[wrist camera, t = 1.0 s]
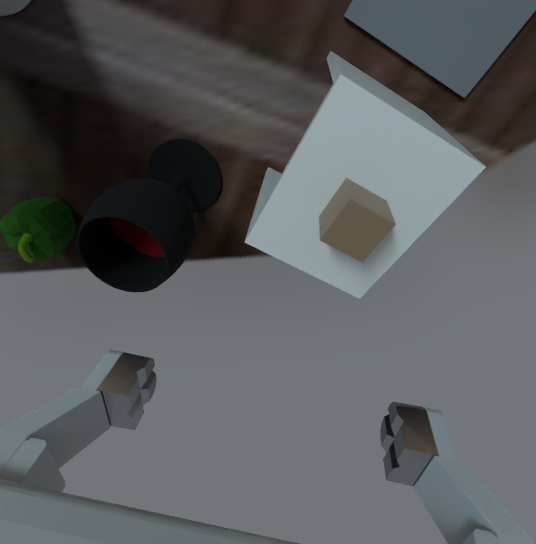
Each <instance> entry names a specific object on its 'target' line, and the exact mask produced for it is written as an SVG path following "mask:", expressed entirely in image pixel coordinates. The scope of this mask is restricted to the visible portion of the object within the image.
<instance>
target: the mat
mask: <svg viewBox="0 0 536 544" xmlns="http://www.w3.org/2000/svg"><path fill="white" fill-rule="evenodd" d="M535 11H536V0H352V2H351V4H350V5H349V7H348V9H347V11H346V13H345V15H344V16H345V17H346V18H347V19H349V20H350V21H352V22H353V23H355V24H356V25H358V26H359V27H361V28H362V29H364V30H365V31H367V32H368V33H369V34H371V35H372V36H374V37H375V38H377V39H378V40H380V41H381V42H383V43H384V44H386V45H387V46H389V47H390V48H391V49H393V50H394V51H396V52H397V53H399V54H400V55H402V56H403V57H405V58H406V59H408V60H409V61H411V62H412V63H413V64H415V65H416V66H418V67H419V68H421V69H422V70H424V71H425V72H427V73H428V74H430V75H431V76H433V77H434V78H436V79H437V80H438V81H440V82H441V83H443V84H444V85H446V86H447V87H449V88H450V89H452V90H453V91H455V92H456V93H458V94H459V95H460V96H462V97H463V98H465V97H466V96H467V95H468V94H469V92H470V91H471V90H472V89H473V87H474V86H475V85H476V84H477V82H478V81H479V80H480V79H481V77H482V76H483V75H484V74H485V72H486V71H487V70H488V69H489V68H490V66H491V65H492V64H493V63H494V61H495V60H496V59H497V58H498V56H499V55H500V54H501V53H502V51H503V50H504V49H505V48H506V46H507V45H508V44H509V43H510V42H511V40H512V39H513V38H514V37H515V35H516V34H517V33H518V32H519V30H520V29H521V28H522V27H523V25H524V24H525V23H526V22H527V20H528V19H529V18H530V17H531V15H532V14H533V13H534V12H535Z"/></svg>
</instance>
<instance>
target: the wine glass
mask: <svg viewBox="0 0 536 544" xmlns="http://www.w3.org/2000/svg"><path fill="white" fill-rule="evenodd" d="M149 176H150V179H146V178H137V179H130V180H126V181H123V182H120V183H118V184H116V185H114V186H112V187H110V188H109V189H108V190H106V191H105V192H104V193H102V194H101V195H100V196H99V197H98V199H97V200H96V201H95V202H94V203H93V204H92V206H91V207H90V209H89V210H88V212H87V214H86V216H85V217H84V219H83V221H82V224H81V226H80V229H79V232H78V235H77V249H78V252H79V255H80V257H81V259H82V261H83V262H84V264H85V266H86V267H87V268H88V269H89V270H90V271H91V272H92V273H93V274H94V275H95V276H96V277H97V278H99V279H101V281H103V282H105V283H106V284H108V285H110V286H112V287H114V288H117V289H120V290H124V291H128V292H145V291H149V290H152V289H154V288H156V287H158V286H159V285H160V284H162V283H163V282H164V281H166V280H167V279H168V278H169V277H171V275H173V274H174V273H175V272H176V270H177V269H178V268H179V267H180V266H181V265H182V264H183V262H184V261H185V259H186V257H187V256H188V254H189V252H190V249H191V246H192V243H193V240H194V232H195V228H194V219H193V215H192V212H191V211H198V210H202V209H205V208H207V207H209V206H210V205H211V204H212V203H214V201H215V200H216V199H217V197H218V195H219V193H220V190H221V186H222V177H221V172H220V169H219V166H218V164H217V162H216V160H215V159H214V158H213V156H212V155H211V154H210V153H209V152H208V151H207V150H206V149H205V148H203V147H202V146H200V145H199V144H197V143H195V142H192V141H189V140H184V139H174V140H170V141H167V142H165V143H163V144H161V145H160V146H159V147H158V148H157V149H156V150H155V151H154V152H153V154H152V156H151V158H150V162H149Z"/></svg>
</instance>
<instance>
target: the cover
mask: <svg viewBox="0 0 536 544" xmlns="http://www.w3.org/2000/svg"><path fill="white" fill-rule="evenodd" d="M327 62H328V66H329V69H330V73H331V77H332V80H333V85H332V87H331V88H330V90H329V92H328V94H327V95H326V97H325V99H324V101H323V102H322V104H321V106H320V108H319V109H318V111H317V113H316V115H315V117H314V118H313V120H312V122H311V124H310V125H309V127H308V129H307V131H306V132H305V134H304V136H303V138H302V139H301V141H300V143H299V145H298V146H297V148H296V150H295V152H294V153H293V155H292V157H291V159H290V161H289V162H288V164H287V166H286V168H285V169H284V171H283V173H282V174H281V173H279V172H277V171H275V170H273V169H272V168H270V167H268V169H267V171H266V174H265V177H264V180H263V183H262V187H261V190H260V193H259V196H258V200H257V203H256V206H255V210H254V213H253V216H252V219H251V223H250V226H249V229H248V232H247V236H246V239H245V243H247V244H249V245H251V246H253V247H255V248H257V249H259V250H261V251H263V252H265V253H267V254H269V255H271V256H273V257H275V258H278V259H280V260H282V261H284V262H286V263H288V264H290V265H292V266H294V267H296V268H298V269H300V270H302V271H304V272H306V273H308V274H310V275H312V276H314V277H316V278H318V279H320V280H322V281H324V282H327V283H329V284H330V285H333V286H334V287H336V288H338V289H340V290H342V291H344V292H347V293H349V294H351V295H353V296H355V297H357V298H359V299H360V298H361V297H362V296H363V295H364V294H365V293H366V292H367V291H368V290H369V289H370V288H371V287H372V285H374V284H375V283H376V282H377V281H378V279H379V278H380V277H381V276H382V275H383V274H384V273H385V272H386V271H387V270H388V269H389V268H390V267H391V266H392V265H393V264H394V263H395V262H396V261H397V259H399V257H400V256H401V255H402V254H403V253H404V252H405V251H406V250H407V249H408V248H409V247H410V246H411V245H412V244H413V243H414V242H415V241H416V240H417V239H418V238H419V237H420V235H421V234H422V233H423V232H424V231H425V230H426V229H427V228H428V227H429V226H430V225H431V224H432V223H433V222H434V221H435V220H436V219H437V218H438V217H439V215H440V214H441V213H442V212H443V211H444V210H445V209H446V208H447V207H448V206H449V205H450V204H451V203H452V202H453V201H454V200H455V199H456V198H457V197H458V196H459V195H460V193H462V192H463V190H464V189H465V188H466V187H467V186H468V185H469V184H470V183H471V182H472V181H473V180H474V179H475V178H476V177H477V176H478V175H479V174H480V173H481V172H482V171H483V170H484V169H485V166H484V165H483V164H482V163H481V162H480V161H479V160H477V159H476V158H475V157H474V156H473V155H472V154H471V153H470V152H469V151H467V150H466V149H465V148H464V147H463V146H462V145H461V144H460V143H458V142H457V141H456V140H455V139H454V138H453V137H452V136H451V135H450V134H448V133H447V132H446V131H445V130H444V129H443V128H442V127H441V126H439V125H438V124H437V123H436V122H435V121H434V120H433V119H432V118H431V117H429V116H428V115H427V114H426V113H425V112H423V111H422V110H420V109H419V108H417V107H416V106H414V105H413V104H411V103H410V102H408V101H407V100H405V99H404V98H402V97H400V96H399V95H397V94H396V93H394V92H393V91H391V90H390V89H388V88H387V87H385V86H384V85H382V84H380V83H379V82H377V81H376V80H374V79H373V78H371V77H370V76H368V75H367V74H365V73H364V72H362V71H361V70H359V69H357V68H356V67H354V66H353V65H351V64H350V63H348V62H347V61H345V60H344V59H342V58H341V57H339V56H338V55H336V54H334V53H333V52H331V51H330V53H329V55H328V57H327Z"/></svg>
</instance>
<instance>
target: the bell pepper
mask: <svg viewBox="0 0 536 544" xmlns="http://www.w3.org/2000/svg"><path fill="white" fill-rule="evenodd" d="M0 231H1V232H2V233H3V235H4V237H5V239H6V241H7V244H8V246H9V248H11V249H14V250H16V251H19V254H20V255H21V256H22V258H23V259H24V260H25V261H27V262H29V263H30V262H32V261H33V260H34V259H35V260H37V261H41V260H45V259H48V258H51V257H54V256H57V255H59V254H60V253H61V252H62V251H63V250H64V249H65V248H66V247H67V246H68V244H69V243H70V241H71V239H72V237H73V235H74V233H75V231H76V224H75V219H74V218H73V217H72V211H71V209H70V206H68V205H67V204H66V203H65V202H63V201H62V200H60V199H56V198H53V197H40V198H35V199H31V200H28V201H24V202H21V203H20V204H18V205H16V206H15V207H13V208H12V210H11V211H10V212H8V213H7V214H6V215H5V216H4V217H3V218H2V219H1V221H0Z"/></svg>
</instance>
